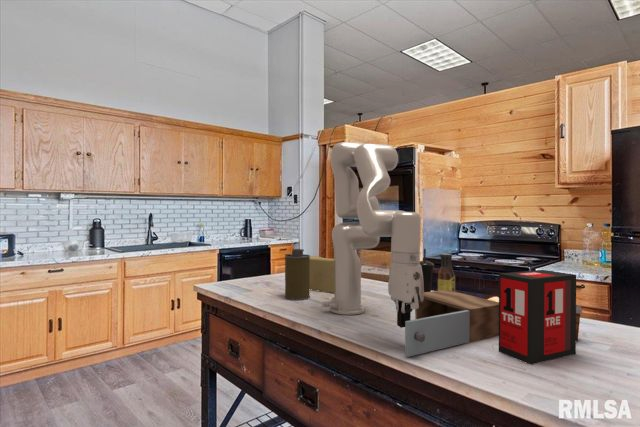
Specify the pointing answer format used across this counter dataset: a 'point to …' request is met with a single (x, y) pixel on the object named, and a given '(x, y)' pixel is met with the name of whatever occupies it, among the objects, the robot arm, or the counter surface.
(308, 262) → the canister
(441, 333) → the door
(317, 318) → the counter surface
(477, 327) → the cabinet
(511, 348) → the cleaning product box
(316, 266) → the cheese
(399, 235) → the robot arm
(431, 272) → the drinking cup
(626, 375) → the counter surface
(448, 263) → the sauce bottle
